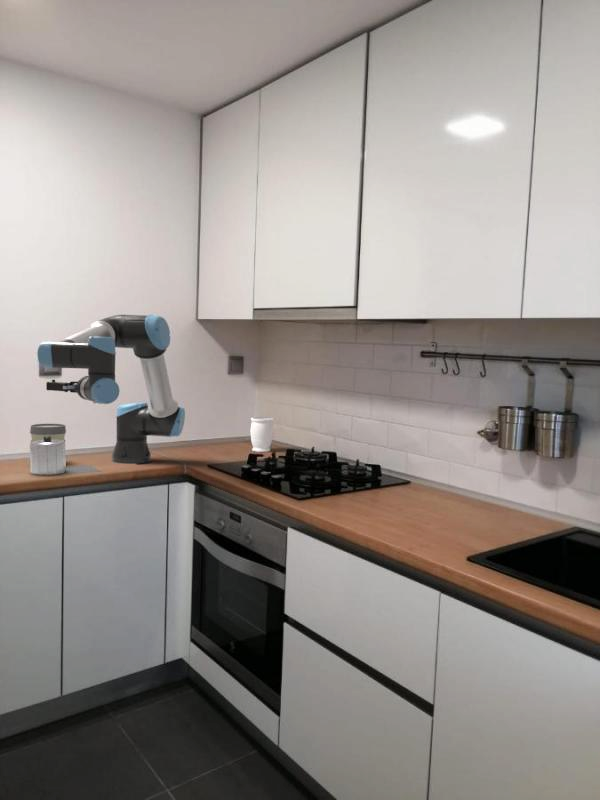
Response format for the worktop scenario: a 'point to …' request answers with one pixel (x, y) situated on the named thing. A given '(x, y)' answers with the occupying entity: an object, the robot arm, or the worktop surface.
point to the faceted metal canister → (47, 456)
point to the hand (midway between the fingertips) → (72, 384)
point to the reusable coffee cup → (47, 431)
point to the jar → (261, 433)
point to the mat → (81, 469)
